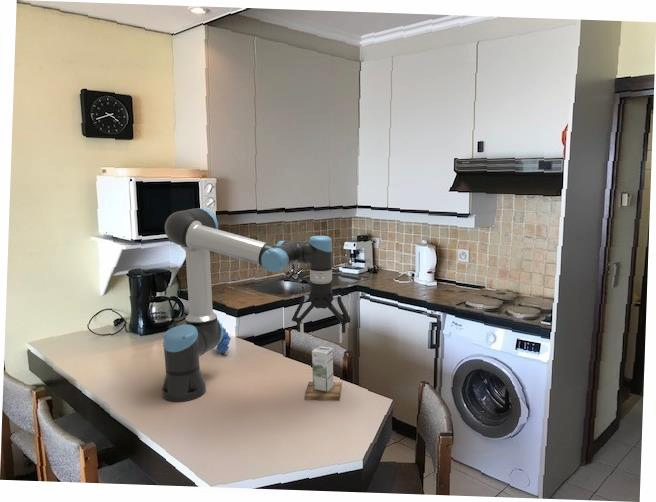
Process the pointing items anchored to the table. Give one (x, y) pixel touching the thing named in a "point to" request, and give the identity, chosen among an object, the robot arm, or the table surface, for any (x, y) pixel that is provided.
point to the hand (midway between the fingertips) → (321, 341)
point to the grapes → (224, 342)
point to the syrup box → (322, 368)
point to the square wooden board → (323, 393)
